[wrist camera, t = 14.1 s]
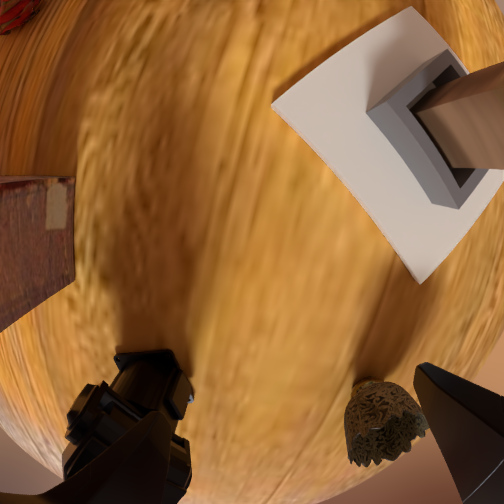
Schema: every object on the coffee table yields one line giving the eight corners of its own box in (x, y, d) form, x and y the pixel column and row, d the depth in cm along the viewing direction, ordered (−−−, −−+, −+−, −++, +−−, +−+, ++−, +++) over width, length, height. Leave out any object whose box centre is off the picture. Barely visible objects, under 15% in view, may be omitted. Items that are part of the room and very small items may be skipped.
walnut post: (433, 167, 17) (572, 178, 4) (398, 119, 16) (536, 79, 4) (460, 135, 16) (583, 129, 4) (429, 90, 15) (548, 48, 3)
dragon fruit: (11, 21, 14) (67, 9, 16) (-29, 56, 11) (22, 42, 13) (5, -21, 6) (66, -44, 8) (-41, 10, 3) (13, -18, 5)
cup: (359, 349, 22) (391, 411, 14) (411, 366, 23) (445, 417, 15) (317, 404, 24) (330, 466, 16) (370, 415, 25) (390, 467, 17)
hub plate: (414, 280, 20) (443, 301, 16) (270, 107, 17) (274, 87, 13) (510, 158, 17) (539, 160, 13) (406, 10, 14) (428, -11, 10)
